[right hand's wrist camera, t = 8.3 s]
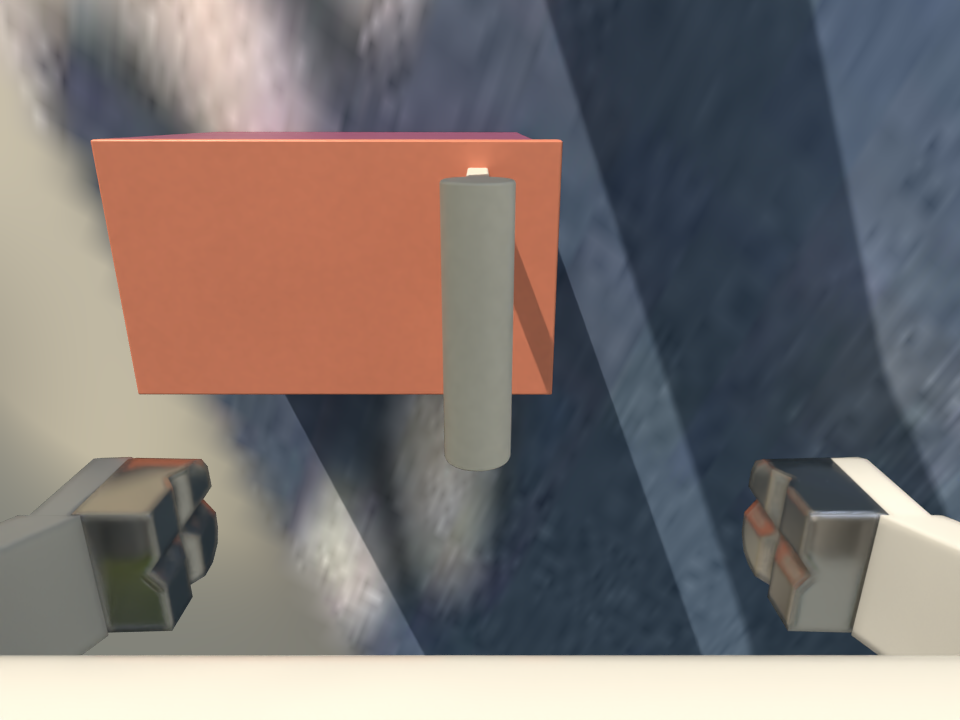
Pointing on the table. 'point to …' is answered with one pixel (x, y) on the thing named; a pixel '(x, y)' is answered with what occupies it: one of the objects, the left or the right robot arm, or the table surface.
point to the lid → (341, 270)
